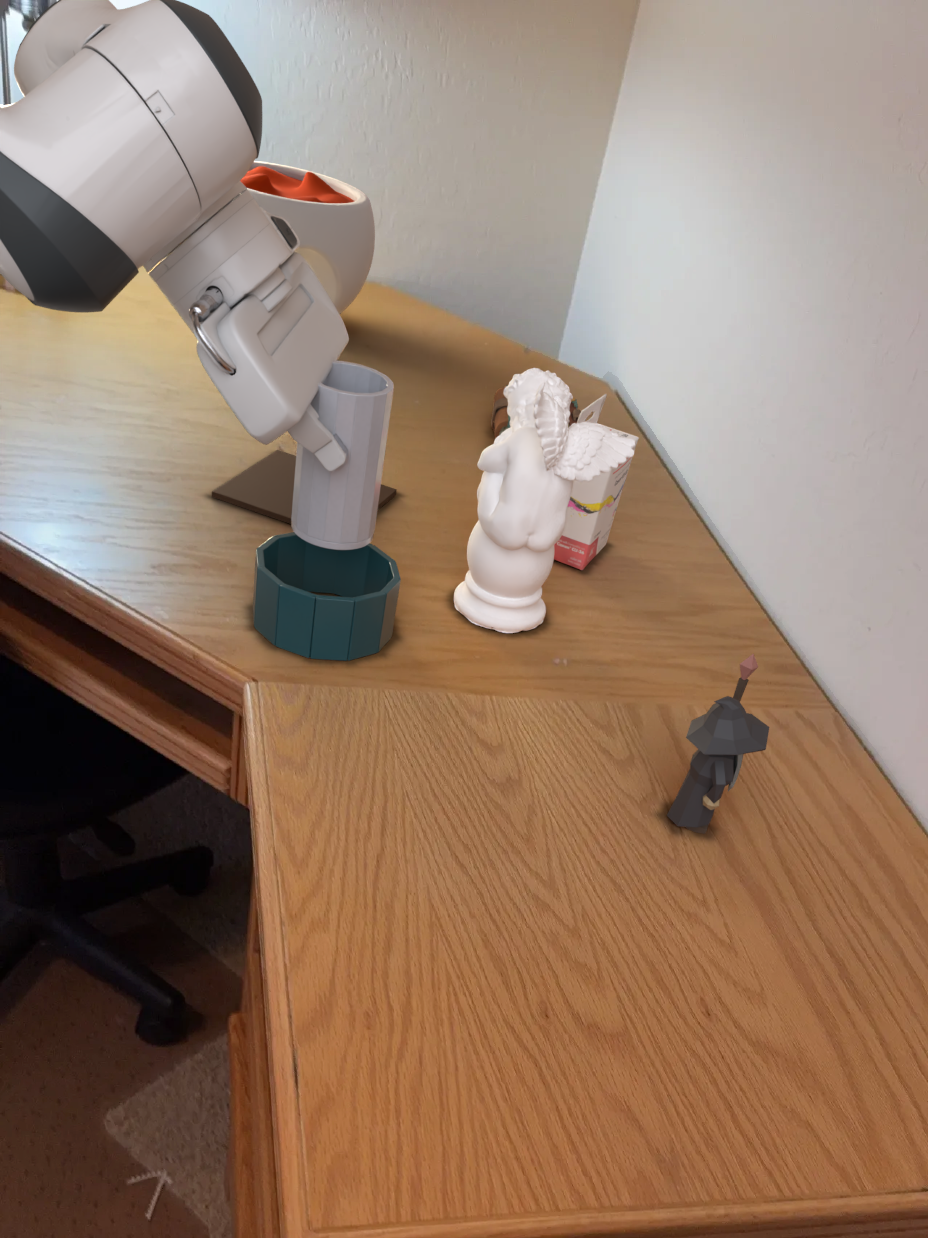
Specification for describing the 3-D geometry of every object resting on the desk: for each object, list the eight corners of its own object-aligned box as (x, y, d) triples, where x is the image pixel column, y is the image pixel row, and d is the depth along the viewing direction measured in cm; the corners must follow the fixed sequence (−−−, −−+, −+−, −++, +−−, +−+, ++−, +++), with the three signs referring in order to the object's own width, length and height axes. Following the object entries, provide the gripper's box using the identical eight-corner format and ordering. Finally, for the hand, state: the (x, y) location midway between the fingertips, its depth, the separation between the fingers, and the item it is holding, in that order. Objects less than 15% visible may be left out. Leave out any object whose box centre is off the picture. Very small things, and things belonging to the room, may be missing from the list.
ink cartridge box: (584, 572, 107) (625, 427, 98) (539, 556, 108) (575, 410, 98) (609, 544, 114) (649, 405, 104) (566, 528, 114) (603, 389, 105)
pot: (394, 331, 154) (412, 191, 143) (306, 364, 137) (318, 207, 125) (255, 282, 159) (261, 143, 147) (152, 307, 142) (151, 151, 130)
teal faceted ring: (227, 629, 86) (230, 568, 83) (291, 575, 95) (296, 517, 92) (357, 676, 85) (365, 615, 82) (410, 616, 94) (419, 560, 90)
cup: (276, 532, 83) (287, 375, 75) (312, 503, 88) (326, 353, 80) (353, 558, 82) (372, 403, 74) (385, 528, 87) (406, 379, 79)
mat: (211, 497, 104) (211, 491, 103) (276, 454, 114) (277, 449, 114) (341, 541, 102) (342, 535, 102) (396, 494, 112) (397, 489, 112)
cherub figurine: (467, 572, 102) (516, 331, 88) (590, 608, 102) (659, 371, 87) (435, 628, 93) (483, 370, 79) (570, 668, 93) (643, 415, 78)
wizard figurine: (733, 851, 78) (796, 716, 70) (661, 842, 77) (716, 705, 69) (709, 781, 84) (764, 651, 76) (642, 773, 83) (691, 640, 75)
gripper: (219, 282, 64) (359, 474, 71) (292, 215, 80) (401, 378, 87) (146, 342, 67) (288, 521, 74) (231, 265, 82) (342, 420, 89)
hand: (350, 443), depth 80 cm, fingers closed on cup, 7 cm apart
